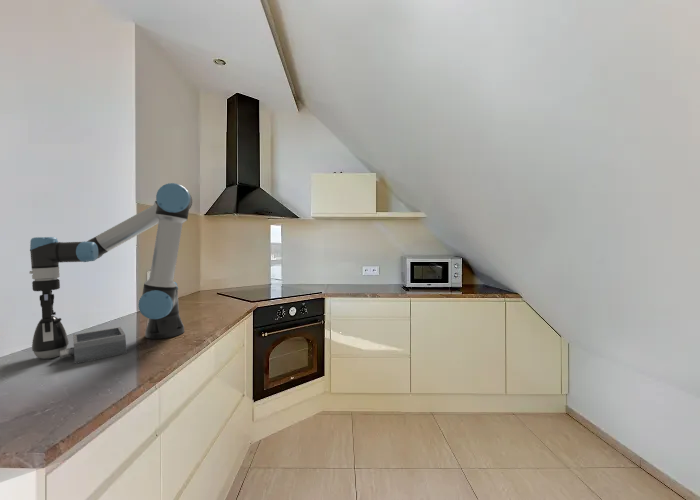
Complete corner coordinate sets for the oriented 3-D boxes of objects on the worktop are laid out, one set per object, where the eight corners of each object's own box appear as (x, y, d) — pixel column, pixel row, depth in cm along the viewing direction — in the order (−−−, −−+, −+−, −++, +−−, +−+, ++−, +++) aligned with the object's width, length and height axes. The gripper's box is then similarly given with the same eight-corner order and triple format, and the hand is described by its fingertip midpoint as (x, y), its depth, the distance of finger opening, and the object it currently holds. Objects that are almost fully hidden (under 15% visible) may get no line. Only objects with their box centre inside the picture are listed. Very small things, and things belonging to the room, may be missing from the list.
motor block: (121, 344, 140) (120, 327, 139) (126, 353, 128) (125, 334, 128) (60, 355, 128) (59, 337, 127) (59, 366, 116) (58, 346, 116)
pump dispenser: (48, 362, 121) (45, 319, 121) (25, 361, 123) (21, 319, 123) (76, 352, 131) (73, 312, 131) (54, 351, 133) (51, 312, 133)
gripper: (34, 277, 133) (37, 331, 134) (29, 283, 114) (32, 346, 115) (60, 275, 138) (62, 328, 139) (58, 281, 119) (62, 342, 120)
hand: (49, 336), depth 127 cm, fingers open, 13 cm apart
